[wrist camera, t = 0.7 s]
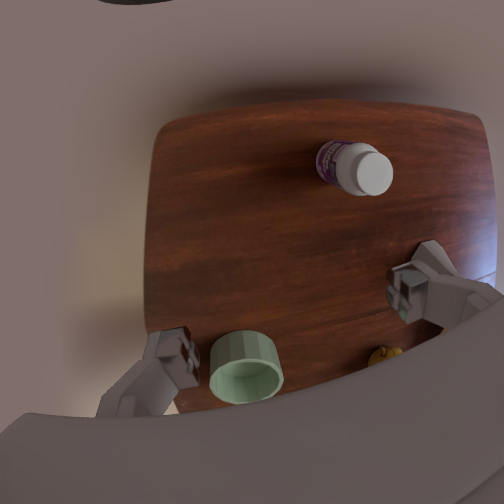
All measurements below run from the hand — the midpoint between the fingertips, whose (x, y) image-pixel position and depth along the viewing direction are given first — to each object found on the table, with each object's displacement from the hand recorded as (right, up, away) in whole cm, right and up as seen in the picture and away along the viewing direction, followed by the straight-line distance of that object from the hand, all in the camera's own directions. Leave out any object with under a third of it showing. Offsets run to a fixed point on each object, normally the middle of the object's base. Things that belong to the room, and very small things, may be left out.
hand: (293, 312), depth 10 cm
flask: (+26, +1, +28) cm, 38 cm away
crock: (-3, -14, +31) cm, 34 cm away
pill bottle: (+8, +13, +21) cm, 26 cm away
